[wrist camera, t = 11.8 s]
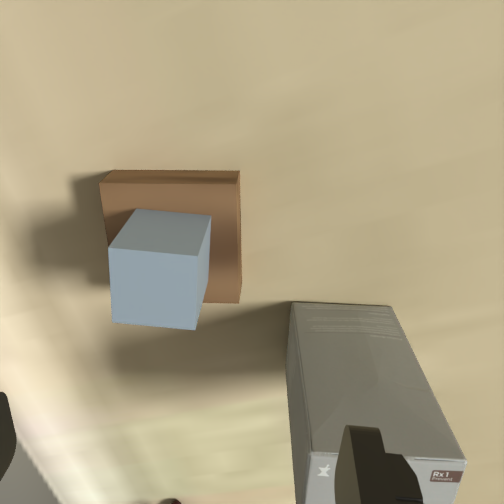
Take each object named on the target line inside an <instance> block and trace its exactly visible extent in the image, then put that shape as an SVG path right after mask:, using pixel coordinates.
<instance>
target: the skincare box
mask: <svg viewBox="0 0 504 504" xmlns="http://www.w3.org/2000/svg"><path fill="white" fill-rule="evenodd" d="M286 382H287V396H288V408H289V421H290V433H291V446H292V459H293V472H294V484H295V497H296V504H335V493H334V478H335V468H336V463H337V459H338V454H339V450H340V445H341V441H342V436H343V432H344V428H345V426H346V425H355V426H366V427H377V428H379V430H380V432H381V436H382V440H383V444H384V449H385V453H393V454H402V455H403V457H404V458H405V460H406V461H407V462H408V464H409V465H410V467H411V468H412V469H413V471H414V472H415V474H416V475H417V478H418V482H419V485H420V489H421V493H422V496H423V503H424V504H454V501H455V498H456V495H457V492H458V488H459V485H460V482H461V479H462V476H463V473H464V470H465V468H466V465H467V460H466V458H465V456H464V454H463V452H462V450H461V448H460V446H459V444H458V442H457V440H456V438H455V436H454V434H453V432H452V430H451V428H450V426H449V424H448V422H447V420H446V418H445V416H444V414H443V412H442V410H441V408H440V406H439V404H438V402H437V400H436V398H435V396H434V394H433V391H432V389H431V387H430V385H429V383H428V381H427V379H426V377H425V375H424V373H423V371H422V369H421V367H420V365H419V362H418V360H417V358H416V356H415V354H414V352H413V350H412V348H411V346H410V344H409V342H408V340H407V338H406V336H405V333H404V331H403V329H402V327H401V325H400V323H399V321H398V319H397V317H396V315H395V313H394V311H393V309H392V307H390V306H367V305H345V304H324V303H300V302H293V303H292V305H291V313H290V324H289V335H288V345H287V355H286Z"/></svg>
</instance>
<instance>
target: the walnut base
mask: <svg viewBox="0 0 504 504" xmlns="http://www.w3.org/2000/svg"><path fill="white" fill-rule="evenodd" d="M99 189H100V195H101V202H102V208H103V215H104V221H105V228H106V234H107V241H108V247H109V246H110V244H111V243H112V241H113V240H114V239H115V237H116V236H117V235H118V233H119V232H120V230H121V229H122V228H123V226H124V225H125V224H126V222H127V221H128V219H129V218H130V217H131V215H132V214H133V213H134V211H135V210H136V209H147V210H158V211H168V212H179V213H189V214H200V215H210V216H211V232H210V253H209V273H208V283H207V287H206V291H205V295H204V299H203V302H202V303H239V300H240V293H241V286H242V260H241V211H240V171H199V170H112V171H111V172H110V173H109V174H108V175H107V176H106V177H105V178H104V179H103V180H102V181H101V182H99Z"/></svg>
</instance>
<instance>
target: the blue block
mask: <svg viewBox="0 0 504 504" xmlns="http://www.w3.org/2000/svg"><path fill="white" fill-rule="evenodd" d="M210 232H211V216H210V215H200V214H189V213H179V212H168V211H158V210H147V209H136V210H135V211H134V213H133V214H132V215H131V217H130V218H129V219H128V221H127V222H126V224H125V225H124V226H123V228H122V229H121V230H120V232H119V233H118V235H117V236H116V237H115V239H114V240H113V241H112V243H111V244H110V246H109V247H108V256H109V274H110V292H111V309H112V322H114V323H124V324H134V325H145V326H155V327H166V328H176V329H186V330H195V329H196V325H197V322H198V318H199V314H200V310H201V306H202V302H203V299H204V295H205V291H206V287H207V283H208V273H209V253H210Z"/></svg>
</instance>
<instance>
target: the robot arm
mask: <svg viewBox="0 0 504 504" xmlns="http://www.w3.org/2000/svg"><path fill="white" fill-rule="evenodd" d="M15 449H16V433H15V429H14V424H13V420H12V416H11V412H10V407H9V403H8V399H7V396H6V394H5V393H4V392H0V481H1V479H2V477H3V476H4V474H5V472H6V470H7V469H8V467H9V465H10V463H11V461H12V459H13V456H14V453H15ZM334 493H335V504H424V503H423V496H422V493H421V489H420V485H419V482H418V478H417V475H416V474H415V472H414V471H413V469H412V468H411V467H410V465H409V464H408V462H407V461H406V460H405V458H404V457H403V455H402V454H393V453H385V449H384V444H383V440H382V436H381V432H380V430H379V428H377V427H366V426H355V425H346V426H345V428H344V432H343V436H342V441H341V445H340V450H339V454H338V459H337V463H336V468H335V478H334Z"/></svg>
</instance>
